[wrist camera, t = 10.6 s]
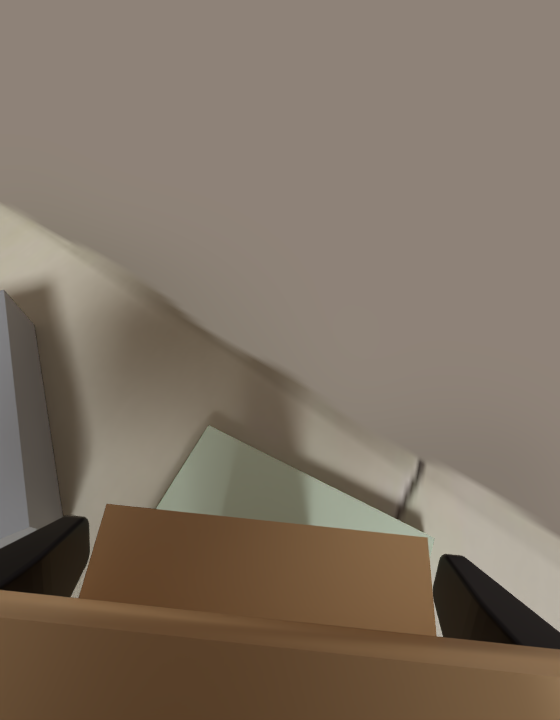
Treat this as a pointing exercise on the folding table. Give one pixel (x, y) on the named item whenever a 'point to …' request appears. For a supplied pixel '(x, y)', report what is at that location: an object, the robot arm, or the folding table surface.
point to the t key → (256, 631)
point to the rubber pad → (267, 491)
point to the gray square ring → (23, 432)
